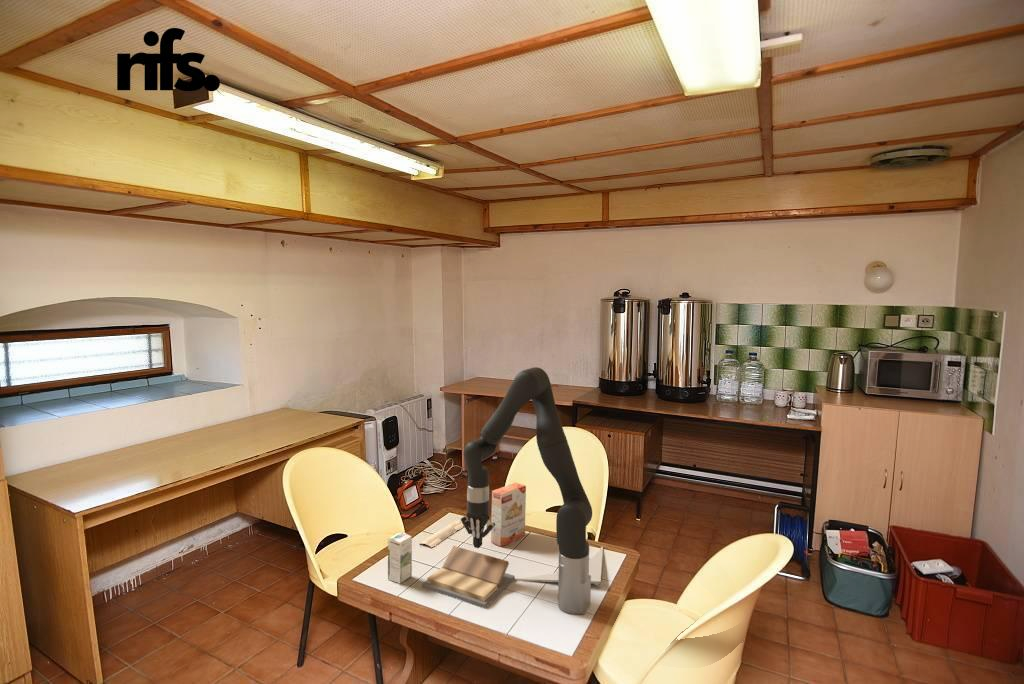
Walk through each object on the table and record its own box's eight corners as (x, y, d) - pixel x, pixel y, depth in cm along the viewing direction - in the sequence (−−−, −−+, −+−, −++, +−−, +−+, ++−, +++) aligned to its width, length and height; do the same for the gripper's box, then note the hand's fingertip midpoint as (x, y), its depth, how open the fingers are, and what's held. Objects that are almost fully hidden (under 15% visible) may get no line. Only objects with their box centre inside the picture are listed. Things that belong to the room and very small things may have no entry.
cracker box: (501, 548, 195) (501, 494, 194) (490, 542, 199) (490, 490, 198) (526, 536, 205) (526, 485, 204) (515, 531, 210) (515, 481, 208)
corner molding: (510, 583, 173) (600, 586, 167) (510, 578, 173) (600, 581, 167) (526, 549, 203) (603, 551, 197) (526, 545, 203) (603, 546, 197)
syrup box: (399, 572, 178) (399, 531, 176) (412, 576, 174) (412, 535, 173) (387, 579, 173) (387, 537, 172) (400, 584, 170) (400, 542, 168)
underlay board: (514, 579, 173) (514, 575, 173) (484, 608, 157) (484, 604, 157) (456, 561, 185) (456, 558, 185) (422, 586, 168) (422, 583, 168)
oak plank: (497, 589, 165) (497, 584, 165) (484, 601, 158) (484, 596, 158) (441, 571, 176) (441, 567, 176) (427, 582, 169) (427, 577, 169)
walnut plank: (509, 563, 172) (507, 561, 171) (499, 586, 166) (497, 583, 165) (454, 548, 182) (453, 545, 181) (443, 568, 177) (442, 566, 176)
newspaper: (455, 523, 218) (455, 519, 218) (468, 527, 215) (468, 523, 214) (419, 546, 198) (419, 542, 198) (433, 551, 194) (433, 546, 194)
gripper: (500, 497, 174) (499, 547, 175) (468, 490, 180) (467, 538, 181) (489, 505, 167) (488, 556, 168) (455, 497, 173) (455, 546, 175)
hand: (477, 546), depth 175 cm, fingers closed
